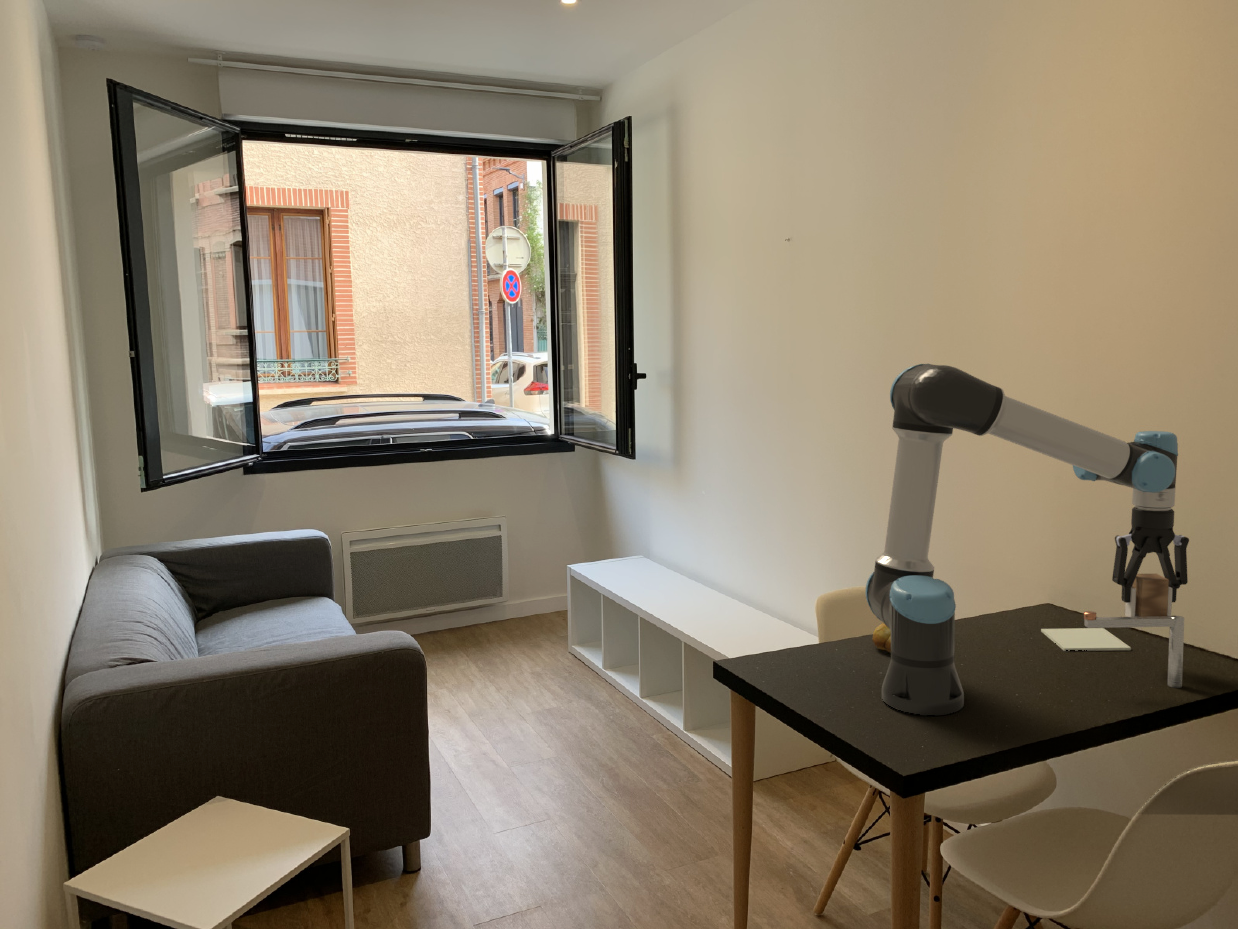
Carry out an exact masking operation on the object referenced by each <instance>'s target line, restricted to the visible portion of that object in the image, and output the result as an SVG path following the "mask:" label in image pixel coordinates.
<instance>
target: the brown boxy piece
mask: <svg viewBox="0 0 1238 929" xmlns="http://www.w3.org/2000/svg"><path fill="white" fill-rule="evenodd" d="M1168 584H1169V580H1168V579H1166V578H1165V577H1164V576H1162V575H1160V574H1158V573H1137V576H1136V578H1135V580H1134V583H1133V585H1132V586H1133V587H1134V588H1136V603H1135V617H1152V616H1168V615H1167V604H1168Z"/></svg>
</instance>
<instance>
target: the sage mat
mask: <svg viewBox="0 0 1238 929" xmlns="http://www.w3.org/2000/svg"><path fill="white" fill-rule="evenodd" d="M1040 632H1041V633H1042V634H1044V635H1045V636H1046V637H1047V638H1048V639H1049V640H1051V641H1052V642H1053V643H1054V644H1055V643H1056V644H1055V645H1057V646H1058V647H1059V648H1060V649H1061V650H1062V651H1063V652H1070V650H1075V652H1079V651H1078V650H1082V651H1083V652H1090V651H1091V652H1092V651H1093V652H1096V651H1097V652H1098V651H1101V652H1104V651H1105V652H1106V651H1131V650H1132V647H1131V646H1129V645H1128V644H1126V643H1125V642H1123V641H1122V640H1121V639H1120V638H1118V637H1116V635H1114V634H1112V633H1111V632H1109V631H1108V630H1107V629H1105V628H1087V627H1086V628H1085V627H1083V628H1080V627H1078V628H1077V627H1076V628H1041V629H1040ZM1066 650H1068V651H1066ZM1084 650H1085V651H1084ZM1086 650H1087V651H1086ZM1082 651H1081V652H1082Z"/></svg>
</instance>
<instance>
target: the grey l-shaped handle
mask: <svg viewBox="0 0 1238 929" xmlns="http://www.w3.org/2000/svg"><path fill="white" fill-rule="evenodd" d="M1083 619H1084V622H1083V623H1084V625H1083V626H1085V627H1086V628H1104V629H1105V628H1106V629H1107V628H1112V629H1113V628H1164V627H1165V628H1166V627H1167V628H1169V632H1168V633H1169V637H1168V662H1167V663H1168V664H1167V686H1168V687H1171V688H1174V689H1179V688H1182V686H1183V666H1184V665H1183V664H1184V663H1183V662H1184V639H1185V637H1184V635H1185V617H1184V616H1183V615H1182V616H1181V615H1171V616H1152V617H1126V616H1106V617H1105V616H1103V617H1101V616H1100V617H1097V612H1096V611H1091V610H1086V611H1083Z"/></svg>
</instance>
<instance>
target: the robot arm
mask: <svg viewBox="0 0 1238 929" xmlns="http://www.w3.org/2000/svg"><path fill="white" fill-rule="evenodd" d="M889 398H890V399H889V400H890V403H891V407H892V409H893V420H892V430H893V431H894V433H895V434H896V436H897V437H898V441H897V442H898V443H897V450H896V458H895V466H894V472H893V474H894V475H893V480H892V488H891V489H892V490H891V495H890V496H891V497H890V504H889V513H888V521H887V527H886V536H885V544H884V552H883V553H881V554H880V555H879V556H877V557H876V558H875V563H874V571H873V572H872V573H871V574H870V575H869V577H868V579H867V581H866V585H865V590H864V591H865V594H864V595H865V598H866V602H867V605H868V606H869V609H870V611H871V612H872V614H873V615H874V616H875V617H876V619H878V620H879V621H880V622H882V623H884V624H885V625H886V626H887V627H888V628H889V629H890V630H891V653H890V661H889V665H888V668H887V671H886V674H885V677H884V679H883V681H882V684H881V685H882V686H881V700H882V699H883V700H882V702H883V701H884V702H886V703H887V704H888V705H890V706H892V707H893V708H897V709H899V710H901V711H904V712H903V713H905V712H910V713H914V714H913V715H916V714H920V715H919V716H927V715H935V716H944V715H950V713H951V714H953V712H954V713H956V712H958V711H960V710H962V709H963V707H964V704H965V696H964V695H965V694H964V689H963V687H962V684H961V680H960V677H959V675H958V672H957V668H956V665H955V635H956V634H955V632H956V631H955V627H956V625H955V624H956V622H955V620H956V618H955V616H956V613H955V612H956V607H957V604H956V601H955V600H956V599H955V592H954V590H953V588H952V587H951V586H950V585H949V584H948V583H947V582H946V581H944V580H942V579H940V578H934V573H935V566H934V564H932V562H931V561H930V560H929V551H930V550H929V549H930V544H931V536H932V535H931V534H932V528H933V521H934V513H935V506H936V498H937V491H938V490H937V489H938V483H939V476H940V475H939V474H940V468H941V460H942V453H943V446H944V442H945V441H946V440H948V439H949V438H951V436H953V432H954V429H956V430H961V431H963V432H968V433H971V434H974V435H977V436H979V437H982V436H985V435H988V434H989V435H991V436H994V437H997V438H999V439H1002V440H1004V441H1008V442H1010V443H1013V444H1015V445H1018V446H1020V447H1024V448H1026V449H1029V450H1032V451H1033V452H1037V453H1039V454H1042V455H1045V456H1046V457H1047V456H1048V457H1050V458H1053V459H1055V460H1058V461H1061V462H1064V463H1067V464H1069V465H1071V466H1072V469H1073V472H1074V475H1075V476H1076V477H1077V479H1079V480H1080V481H1092V482H1096V481H1106V482H1107V483H1112V484H1116V485H1120V486H1124V487H1127V488H1131V489H1132V498H1131V499H1132V500H1131V504H1132V506H1134V507H1132V508H1131V529H1130V530H1129V533H1128V534H1124V535H1118V534H1117V535H1115V537H1114V541H1115V545H1116V548H1115V556H1114V563H1113V570H1112V578H1111V579H1112V582H1114V583H1115V584H1117V585H1119V586H1121V601H1122V602H1124V604H1125V607H1124V617H1135V603H1136V588H1134V587H1133V586H1132V585H1133V583H1134V580H1135V578H1136V576H1137V574H1139V571H1140V568H1141V566H1142V562H1143V561H1144V559H1145V558H1146V556H1147V554H1151V553H1152V554H1153V553H1154V554H1156V555H1157V557H1158V561H1159V563H1160V567H1161V570H1162V573H1163V577H1164V578H1166V579H1168V580H1169V584H1168V604H1167V615H1168V616H1172V608H1173V607H1172V605H1173V603H1176V602H1177V592H1178V591H1177V590H1178V589H1180V588H1181V586H1182V585H1187V584H1188V583H1189V581H1188V579H1189V578H1188V561H1187V560H1188V558H1187V557H1188V556H1187V554H1188V553H1187V548H1188V545H1189V542H1190V539H1189V537H1187V536H1185V535H1183V534H1176V533H1175V532H1174V525H1175V511H1174V509H1173V507H1175V506H1176V502H1175V501H1176V483H1177V470H1178V469H1177V468H1178V457H1179V452H1178V451H1179V450H1178V448H1179V444H1178V436H1177V435H1176V434H1175V433H1174V432H1171V431H1163V430H1162V431H1159V430H1144V431H1138V432H1136V434H1135V437H1134V439H1133V441H1131V442H1126V441H1124V440H1122V439H1119V438H1116V437H1114V436H1111V435H1108V434H1106V433H1103V432H1101V431H1098V430H1096V429H1093V428H1091V427H1088V426H1086V425H1082V424H1079V423H1078V422H1077V423H1076V422H1074V421H1072V420H1069V419H1066V418H1064V417H1061V416H1059V415H1056V414H1053V413H1051V412H1048V411H1046V410H1044V409H1041V408H1037V407H1035V406H1033V405H1030V404H1027V403H1025V402H1023V401H1020V400H1017V399H1015V398H1012V397H1009V396H1006V395H1005V392H1004V389H1003V388H1001V387H999V386H996V385H993V384H991V383H989V382H986V381H984V380H982V379H980V378H978V377H976V376H974V375H972V374H970V373H968V372H966V371H963V369H962V370H961V369H960V368H958V367H956V366H955V367H954V366H951V365H945V364H944V365H942V364H931V363H919V364H916V365H912V366H909V367H907V368H904V369H903V371H901V372H900V373H899V374H898V375H897V376H896V377H895V378H894V380H893V382H892V384H891V387H890V392H889ZM1130 542H1132V543H1133V548H1132V551H1131V556H1130V559H1129V561H1128V564H1127V558H1128V553H1129V552H1128V551H1129V549H1128V547H1129V546H1130ZM1171 543H1173V545H1174V546H1173V547H1174V548H1173V550H1174V551H1173V552H1174V555H1173V556H1174V567H1173V564H1172V560H1171V557H1170V556H1171V553H1170V550H1169V546H1170V544H1171ZM1126 565H1127V567H1126ZM884 702H883V703H884ZM888 705H887V706H888ZM893 708H892V709H893ZM901 711H900V712H901ZM910 713H909V714H910Z"/></svg>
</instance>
